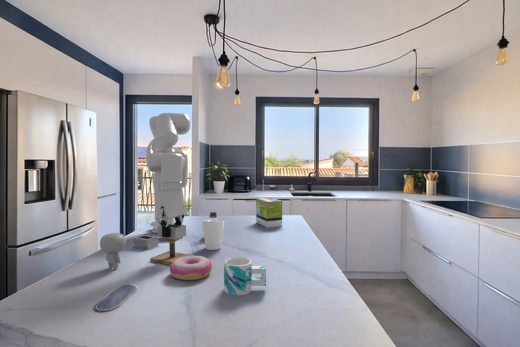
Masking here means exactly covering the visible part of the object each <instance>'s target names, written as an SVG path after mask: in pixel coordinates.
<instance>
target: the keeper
mask: <svg viewBox="0 0 520 347" xmlns="http://www.w3.org/2000/svg"><path fill="white" fill-rule="evenodd" d="M168 241H169V242H168V243H169V246H168V247H169V251H168V250H167V251H166V252H163V253H161V254H158V255H155V256H152V257H150V259H149V261H150V262H151V263H157V264H163V265H168V266H171V263H172V262H173V261H175V260H176V259H178V258H181V257H186V256H195V254H190V253H183V252H177V251H176V240H168Z"/></svg>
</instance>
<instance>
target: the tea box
mask: <svg viewBox="0 0 520 347" xmlns="http://www.w3.org/2000/svg"><path fill="white" fill-rule="evenodd" d="M255 217H256V218H255V222H256V224H259V225H261V226H263V227H265V228H268V229H269V228H277V227H283V200H281V199H278V198H274V197H257V198H255Z"/></svg>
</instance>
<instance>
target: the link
mask: <svg viewBox="0 0 520 347" xmlns="http://www.w3.org/2000/svg"><path fill="white" fill-rule="evenodd" d="M169 226H170V237H169V238H168V239H175V241H177V240H176V239H178V240H180V239H179V238H181V239H183V238H184V237H187V225H185V224H182V225H178V224H170V223H169ZM157 237H158V238H162V239H163V238H167V237H162V226H158V233H157Z"/></svg>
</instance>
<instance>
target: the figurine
mask: <svg viewBox="0 0 520 347" xmlns="http://www.w3.org/2000/svg"><path fill="white" fill-rule="evenodd" d="M126 245H127V238H126V237H125V236H124V235H123V234H122V233H119V232H111V233H108V234H107V233H106V234H104V235H103V236H102V237H100V240H99V247H100V250H101V251H103V252H104V253H106V254H105V260H106V261H107V262H108V263H107V265H108V268H110V269H113V270H117V269H118V268H119V264H121V256H120V254H119V252H121V251H123V250H124V249H125V248H126Z"/></svg>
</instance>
